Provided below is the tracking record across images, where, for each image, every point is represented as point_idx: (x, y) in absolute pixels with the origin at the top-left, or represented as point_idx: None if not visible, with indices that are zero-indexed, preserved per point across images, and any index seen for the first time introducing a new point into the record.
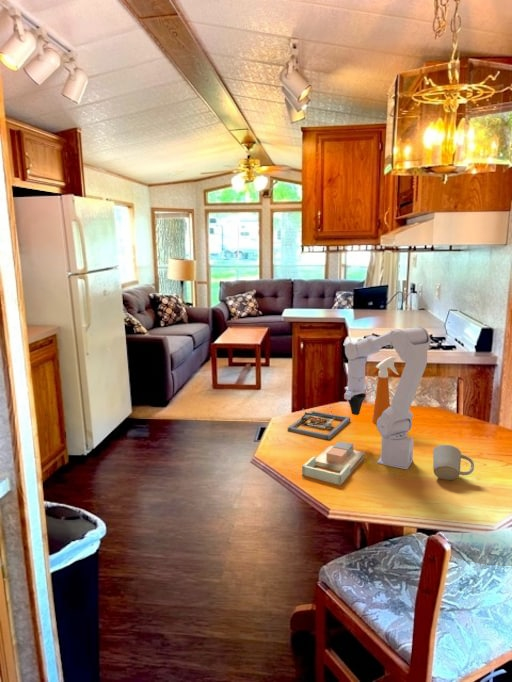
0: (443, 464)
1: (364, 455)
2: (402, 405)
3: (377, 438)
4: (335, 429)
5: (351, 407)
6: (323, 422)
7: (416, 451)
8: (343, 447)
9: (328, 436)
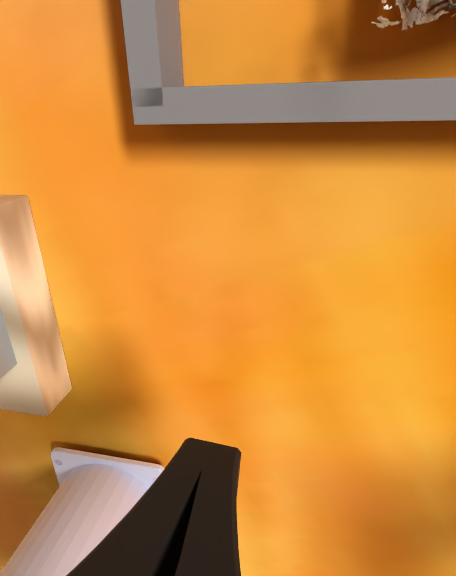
0: None
1: (53, 404)
2: None
3: (404, 409)
4: (323, 111)
5: (131, 526)
6: None
7: (297, 566)
8: None
9: (136, 116)
